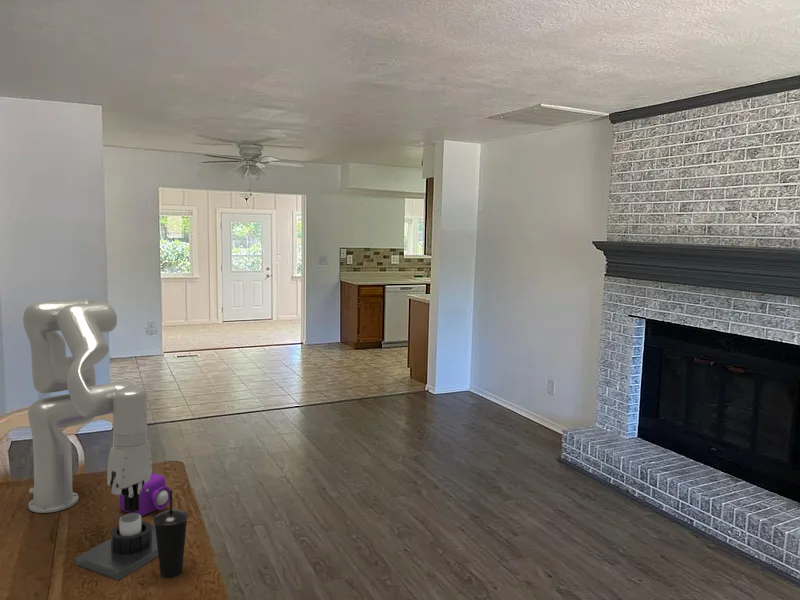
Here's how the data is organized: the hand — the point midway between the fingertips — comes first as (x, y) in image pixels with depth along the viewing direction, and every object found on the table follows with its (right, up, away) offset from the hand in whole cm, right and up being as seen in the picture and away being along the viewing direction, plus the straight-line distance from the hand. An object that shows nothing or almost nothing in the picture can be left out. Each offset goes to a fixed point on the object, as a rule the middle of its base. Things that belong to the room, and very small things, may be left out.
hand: (131, 510), depth 148 cm
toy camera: (-7, -9, +25) cm, 27 cm away
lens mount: (-1, -11, +1) cm, 11 cm away
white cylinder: (-1, -9, +1) cm, 9 cm away
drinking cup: (+12, -13, -7) cm, 19 cm away
